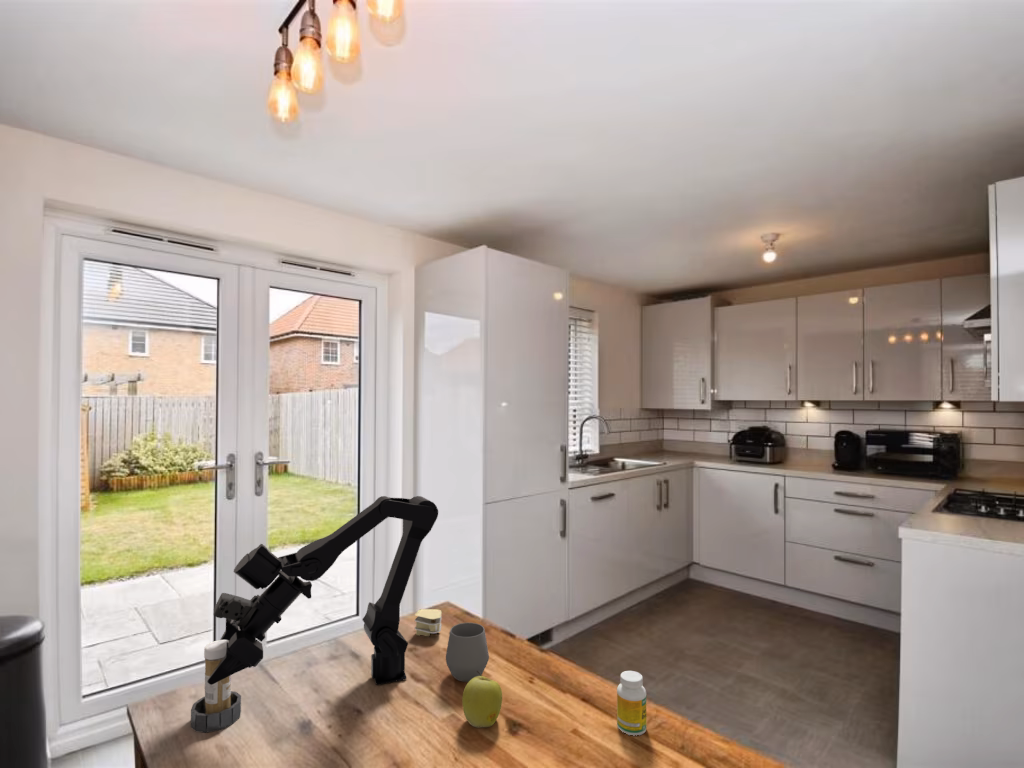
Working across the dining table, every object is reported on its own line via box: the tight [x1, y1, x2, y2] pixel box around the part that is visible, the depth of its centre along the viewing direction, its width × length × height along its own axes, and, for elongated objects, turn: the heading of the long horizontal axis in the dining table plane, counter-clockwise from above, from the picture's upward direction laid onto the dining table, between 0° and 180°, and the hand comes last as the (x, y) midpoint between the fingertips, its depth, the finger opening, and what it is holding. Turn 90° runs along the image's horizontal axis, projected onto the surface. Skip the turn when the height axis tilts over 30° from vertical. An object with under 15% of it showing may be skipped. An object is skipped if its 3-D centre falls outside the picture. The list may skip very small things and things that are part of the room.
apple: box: [461, 671, 503, 728], centre depth 103 cm, size 8×8×10 cm
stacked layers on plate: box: [414, 608, 443, 637], centre depth 140 cm, size 10×9×6 cm
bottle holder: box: [190, 690, 242, 734], centre depth 103 cm, size 8×8×3 cm
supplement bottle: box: [616, 670, 647, 737], centre depth 100 cm, size 5×5×10 cm
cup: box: [445, 622, 490, 683], centre depth 119 cm, size 10×9×10 cm
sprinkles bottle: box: [203, 639, 232, 714], centre depth 103 cm, size 5×5×14 cm
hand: (209, 671), depth 103 cm, fingers open, 9 cm apart
